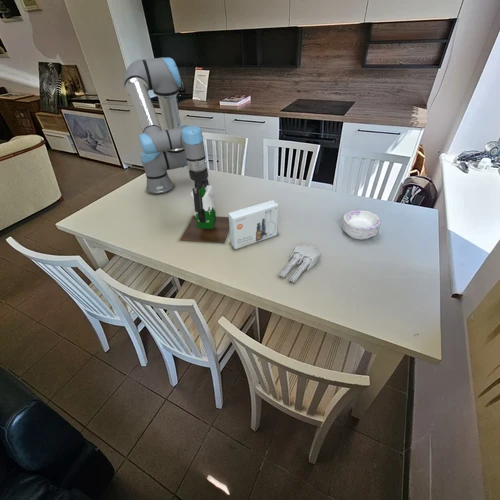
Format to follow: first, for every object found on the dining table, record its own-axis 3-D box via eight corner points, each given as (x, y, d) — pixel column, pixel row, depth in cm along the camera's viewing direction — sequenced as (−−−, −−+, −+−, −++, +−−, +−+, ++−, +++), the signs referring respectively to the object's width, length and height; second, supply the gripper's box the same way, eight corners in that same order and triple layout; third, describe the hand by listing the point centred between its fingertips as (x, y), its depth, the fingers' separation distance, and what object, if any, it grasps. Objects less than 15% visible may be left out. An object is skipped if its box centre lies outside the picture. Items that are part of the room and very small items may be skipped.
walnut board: (194, 216, 140) (194, 215, 139) (233, 218, 137) (233, 217, 136) (180, 240, 124) (180, 239, 124) (223, 243, 121) (223, 242, 121)
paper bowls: (351, 220, 131) (354, 205, 126) (382, 232, 122) (387, 217, 117) (333, 234, 123) (336, 219, 118) (365, 248, 114) (370, 233, 109)
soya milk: (195, 229, 126) (187, 189, 113) (200, 218, 133) (193, 179, 120) (214, 230, 125) (208, 189, 112) (218, 219, 132) (213, 179, 119)
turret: (275, 278, 107) (274, 270, 103) (302, 245, 116) (302, 237, 113) (297, 289, 101) (297, 281, 98) (324, 255, 111) (325, 246, 108)
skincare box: (235, 250, 117) (232, 218, 107) (230, 243, 121) (226, 212, 111) (278, 235, 124) (279, 204, 114) (271, 229, 128) (272, 198, 118)
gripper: (198, 180, 103) (207, 230, 117) (213, 158, 120) (219, 204, 134) (179, 180, 104) (190, 229, 118) (197, 158, 121) (204, 203, 135)
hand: (205, 216), depth 126 cm, fingers closed on soya milk, 9 cm apart
